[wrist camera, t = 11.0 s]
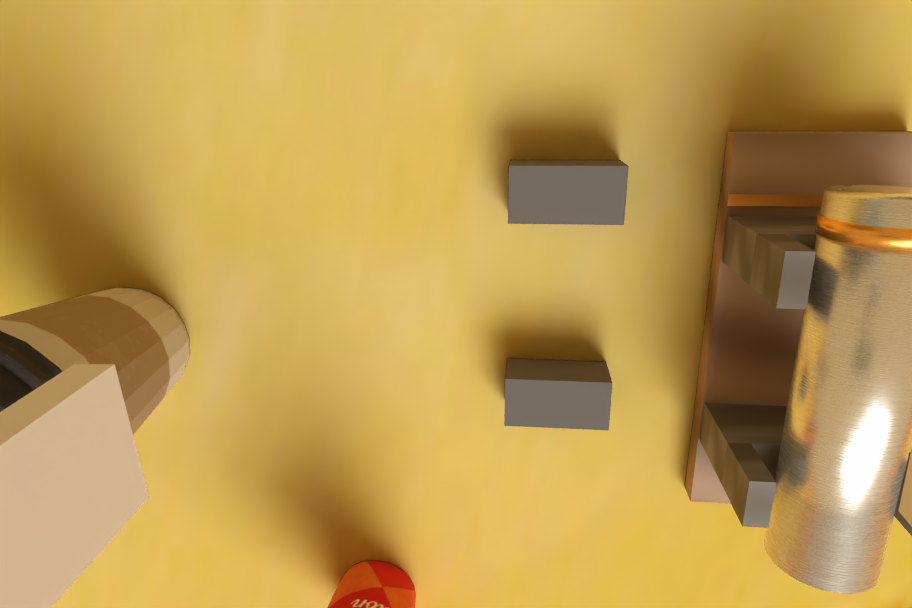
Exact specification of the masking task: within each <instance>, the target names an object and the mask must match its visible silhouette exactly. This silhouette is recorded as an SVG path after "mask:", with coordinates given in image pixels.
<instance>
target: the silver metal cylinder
mask: <svg viewBox="0 0 912 608" xmlns="http://www.w3.org/2000/svg"><path fill="white" fill-rule="evenodd" d="M815 233H816V234H817V235H816V241H815V247H814V251H816V254H815V260H814V266H813V272H812V278H811V283H810V289H809V295H808V301H807V307H806V309H804V311H803V317H802V323H801V329H800V335H799V341H798V347H797V353H796V358H795V364H794V370H793V376H792V382H791V388H790V394H789V400H788V405H787V411H786V417H785V423H784V429H783V435H782V441H781V446H780V452H779V458H778V464H777V470H776V476H775V481H776V488H775V493H774V499H773V505H772V511H771V517H770V523H769V528H767V529H766V535H765V540H764V545H765V549H766V552H767V554H768V555H769V557H770V558H771V560H772V561H773V562H774V563H775V564H776V565H777V566H778V567H779V568H780V569H782V570H783V571H784V572H785V573H787V574H788V575H790V576H791V577H793V578H795V579H797V580H799V581H801V582H803V583H805V584H807V585H810V586H812V587H815V588H818V589H821V590H825V591H829V592H834V593H843V594H853V593H860V592H864V591H867V590H869V589H871V588H873V587H874V586H875V585H876V583H877V582H878V579H879V575H880V571H881V567H882V562H883V558H884V554H885V550H886V546H887V542H888V538H889V534H890V529H891V525H892V521H893V517H894V513H895V509H896V505H897V501H898V496H899V492H900V488H901V484H902V480H903V476H904V472H905V468H906V463H907V459H908V455H909V451H910V447H911V443H912V187H902V186H884V185H842V186H832V187H827V188H825V189H824V194H823V200H822V206H821V210H820V211H818V214H817V220H816V225H815Z"/></svg>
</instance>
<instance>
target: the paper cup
mask: <svg viewBox="0 0 912 608" xmlns="http://www.w3.org/2000/svg"><path fill="white" fill-rule="evenodd" d="M415 599H416V594H415V588H414V585H413V583H412V581H411V579H410V578H409V577H408V575H407V574H406V573H405V572H404V571H402V570H401V569H400V568H398V567H397V566H395V565H393V564H390V563H388V562H384V561H378V560H369V561H363V562H360V563H357V564H355V565H354V566H352V567H351V568H350V569H349V570H348V571H347V572H346V573H345V575H344V576H343V578H342V580H341V581H340V583H339V585H338V587H337V589H336V591H335V593H334V595H333V597H332V599H331V601H330V603H329V606H328V608H415Z"/></svg>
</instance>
